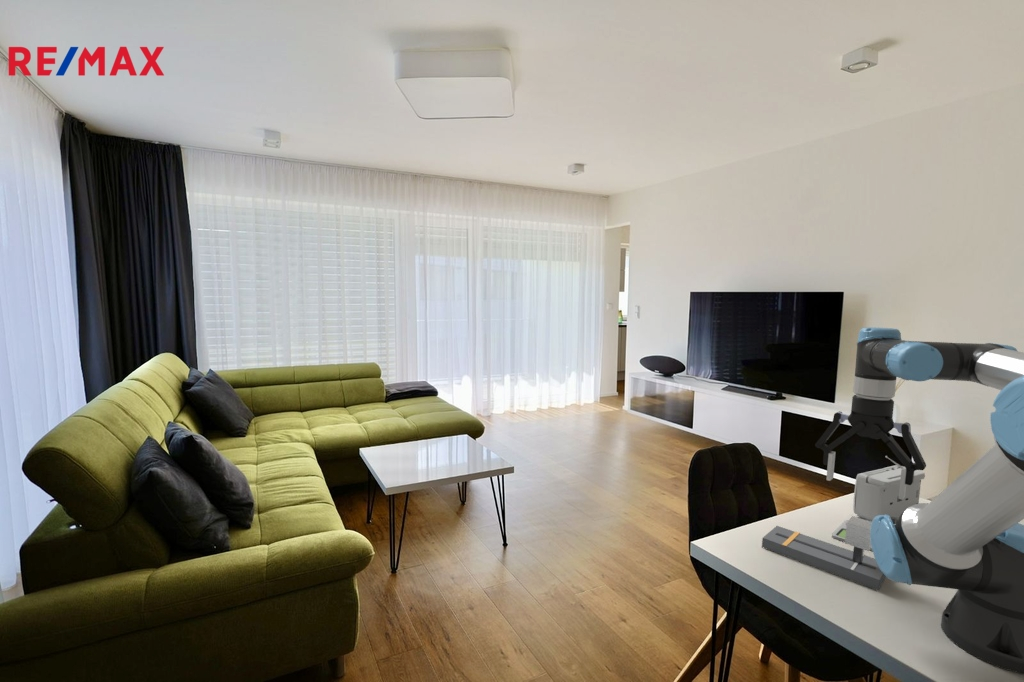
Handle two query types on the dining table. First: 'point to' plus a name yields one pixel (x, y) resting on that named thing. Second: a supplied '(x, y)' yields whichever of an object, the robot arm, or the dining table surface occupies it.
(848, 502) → the dining table surface
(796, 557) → the fader board
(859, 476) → the stereo radio cassette player
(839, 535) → the handheld gaming console
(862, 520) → the cap
